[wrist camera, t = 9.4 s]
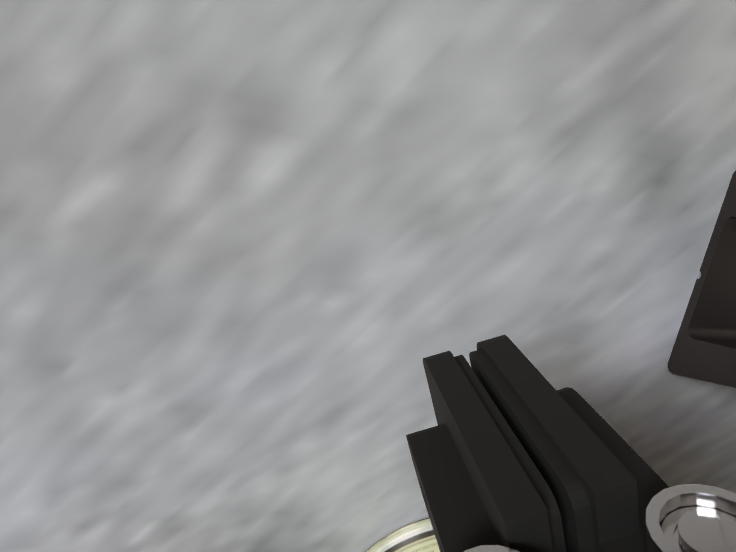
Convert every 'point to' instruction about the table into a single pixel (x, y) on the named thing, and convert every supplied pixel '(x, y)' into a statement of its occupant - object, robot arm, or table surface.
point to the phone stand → (712, 308)
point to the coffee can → (409, 539)
